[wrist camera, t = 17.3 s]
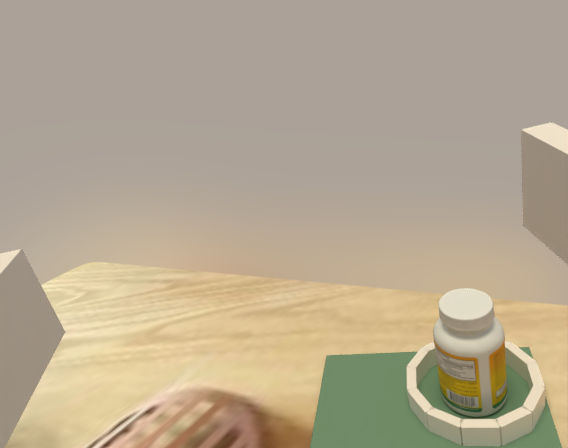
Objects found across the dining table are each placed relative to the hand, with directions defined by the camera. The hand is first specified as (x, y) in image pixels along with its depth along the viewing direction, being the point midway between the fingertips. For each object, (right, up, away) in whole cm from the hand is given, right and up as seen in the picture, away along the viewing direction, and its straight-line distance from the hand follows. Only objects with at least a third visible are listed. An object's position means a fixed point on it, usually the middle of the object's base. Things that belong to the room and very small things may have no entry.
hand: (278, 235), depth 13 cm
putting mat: (+12, -16, +29) cm, 36 cm away
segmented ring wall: (+16, -15, +30) cm, 37 cm away
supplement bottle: (+16, -14, +30) cm, 37 cm away
